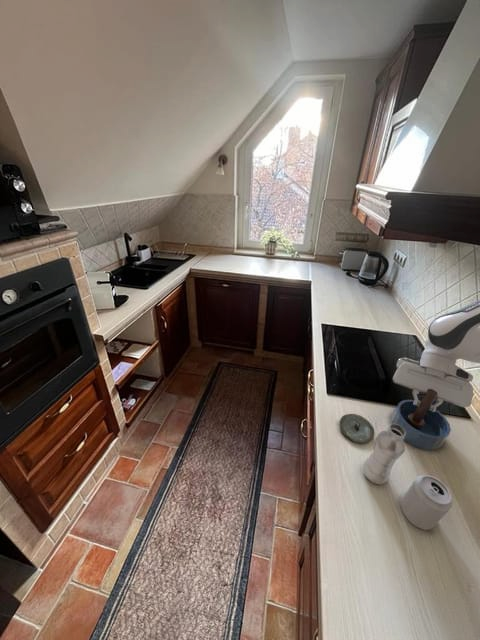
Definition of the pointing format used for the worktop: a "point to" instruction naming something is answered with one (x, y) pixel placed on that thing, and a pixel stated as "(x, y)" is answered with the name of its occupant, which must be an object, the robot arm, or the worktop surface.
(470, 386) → the robot arm
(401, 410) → the bowl
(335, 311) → the worktop surface
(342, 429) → the lid
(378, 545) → the worktop surface
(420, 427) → the stirring stick
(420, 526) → the can
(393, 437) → the plastic bottle
